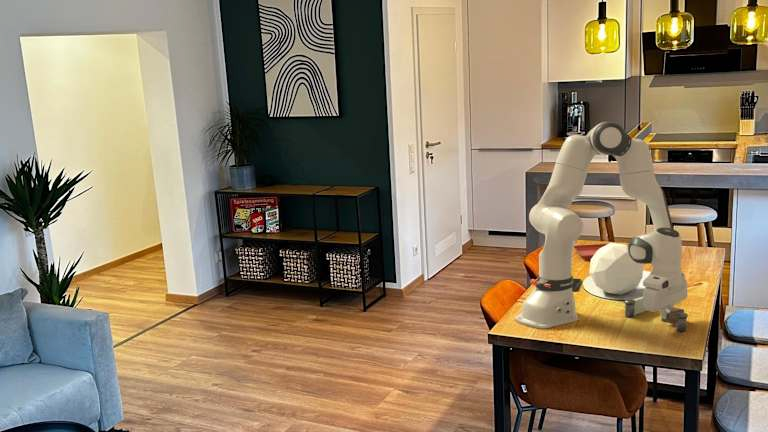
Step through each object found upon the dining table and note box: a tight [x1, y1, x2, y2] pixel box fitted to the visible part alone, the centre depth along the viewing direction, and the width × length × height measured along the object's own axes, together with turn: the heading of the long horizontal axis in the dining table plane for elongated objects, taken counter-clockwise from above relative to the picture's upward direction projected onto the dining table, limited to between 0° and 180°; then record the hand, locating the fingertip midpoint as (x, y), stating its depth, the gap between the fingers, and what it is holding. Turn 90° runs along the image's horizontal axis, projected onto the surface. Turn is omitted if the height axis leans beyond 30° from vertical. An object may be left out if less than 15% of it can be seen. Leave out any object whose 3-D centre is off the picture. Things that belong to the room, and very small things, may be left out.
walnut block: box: [661, 306, 685, 326], centre depth 235 cm, size 5×5×4 cm
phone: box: [572, 277, 582, 293], centre depth 279 cm, size 8×1×15 cm
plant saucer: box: [573, 243, 609, 261], centre depth 320 cm, size 18×18×3 cm
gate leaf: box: [633, 296, 648, 316], centre depth 246 cm, size 1×15×5 cm, turn 123°
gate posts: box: [623, 298, 688, 333], centre depth 234 cm, size 4×23×6 cm, turn 37°
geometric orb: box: [588, 242, 645, 296], centre depth 266 cm, size 19×20×20 cm
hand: (665, 317), depth 233 cm, fingers closed
